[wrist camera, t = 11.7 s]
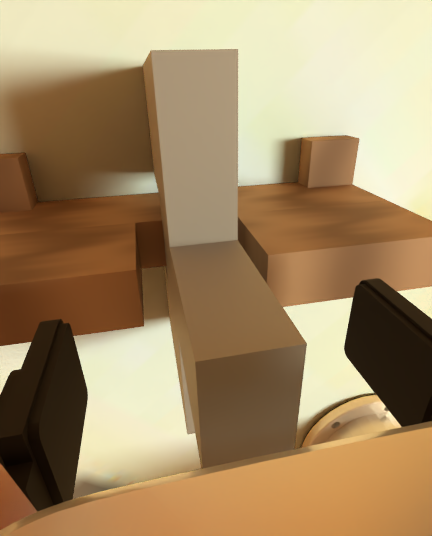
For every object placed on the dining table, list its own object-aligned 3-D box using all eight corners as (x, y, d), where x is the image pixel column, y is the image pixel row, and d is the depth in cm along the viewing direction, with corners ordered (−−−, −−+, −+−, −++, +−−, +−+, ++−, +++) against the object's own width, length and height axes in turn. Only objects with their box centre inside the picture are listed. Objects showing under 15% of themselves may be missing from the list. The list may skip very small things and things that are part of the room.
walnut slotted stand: (346, 135, 22) (480, 167, 14) (330, 250, 26) (427, 332, 18) (-36, 156, 19) (-181, 218, 10) (8, 286, 22) (-70, 414, 14)
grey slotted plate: (203, 312, 26) (280, 566, 13) (169, 317, 26) (210, 585, 12) (190, 65, 19) (345, 13, 5) (142, 65, 19) (170, 13, 5)
